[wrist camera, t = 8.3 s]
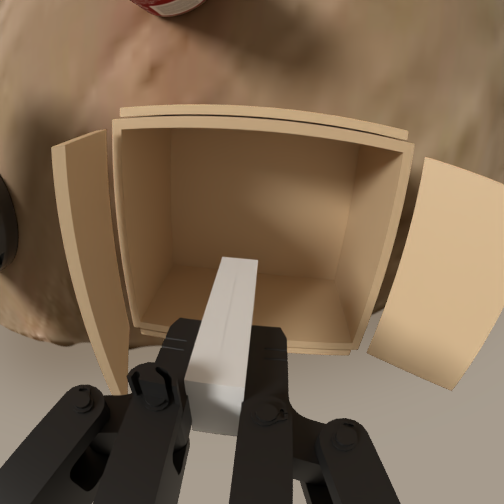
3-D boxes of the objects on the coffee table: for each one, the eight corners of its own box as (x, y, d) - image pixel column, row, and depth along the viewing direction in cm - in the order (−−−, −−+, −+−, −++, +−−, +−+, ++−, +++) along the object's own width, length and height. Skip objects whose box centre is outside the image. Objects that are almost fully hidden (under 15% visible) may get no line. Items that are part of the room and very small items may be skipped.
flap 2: (451, 391, 15) (452, 386, 15) (542, 202, 9) (539, 200, 9) (366, 352, 18) (368, 348, 19) (425, 157, 12) (426, 156, 13)
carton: (170, 272, 28) (135, 333, 20) (167, 107, 21) (112, 108, 13) (336, 288, 28) (355, 356, 20) (367, 123, 21) (416, 133, 13)
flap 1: (65, 145, 7) (51, 147, 7) (127, 410, 13) (119, 410, 13) (106, 129, 13) (97, 130, 13) (129, 326, 19) (122, 327, 19)
